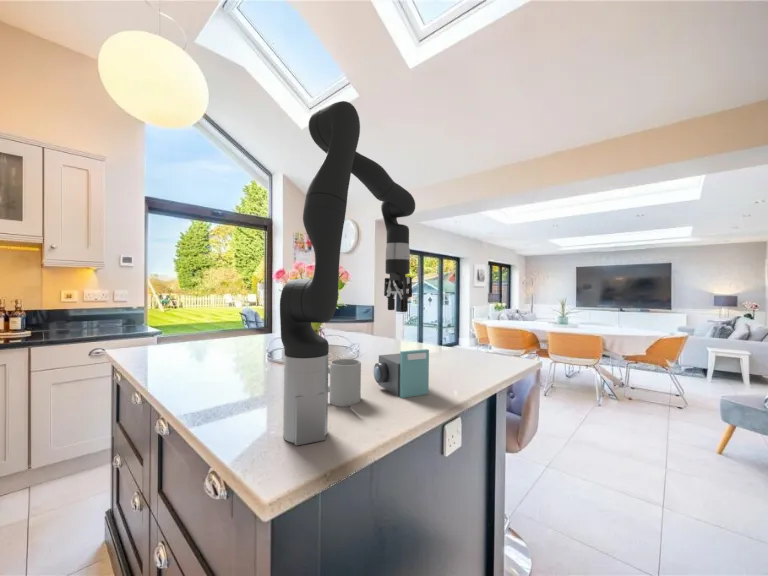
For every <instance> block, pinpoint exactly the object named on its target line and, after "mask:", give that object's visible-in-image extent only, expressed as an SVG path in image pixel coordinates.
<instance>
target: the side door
mask: <svg viewBox="0 0 768 576" xmlns="http://www.w3.org/2000/svg"><path fill="white" fill-rule="evenodd" d="M399 354H400V396H399V397H400V398H401V399H403V398H404V399H405V398H410V397H418V396H423V395H424V396H426V395H429V391H430V390H429V388H430V387H429V384H430V383H429V381H430V378H429V375H430V372H429V371H430V370H429V368H430V363H429V362H430V350H429V349H427V348H426V349H425V348H424V349H412V350H401V351H399Z"/></svg>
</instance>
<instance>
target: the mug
mask: <svg viewBox="0 0 768 576" xmlns="http://www.w3.org/2000/svg"><path fill="white" fill-rule="evenodd" d="M329 364H330V366H328V375H329V379H330V380H329V385H328V393H329V403H330V404H331V405H332V406H335V407H340V408H348V407H349V408H350V406H351V405H355V404H357V403H359V402H360V401H361V400H362V399H361V398H362V397H361V395H362V394H361V393H362V392H361V389H362V388H361V387H362V385H361V383H362V382H361V381H362V377H361V376H362V374H361V373H362V362H361V361H360V360H358V359H353V358H340V359H335V360H332V361H331V362H330V363H329Z"/></svg>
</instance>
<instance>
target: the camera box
mask: <svg viewBox="0 0 768 576" xmlns="http://www.w3.org/2000/svg"><path fill="white" fill-rule="evenodd" d="M373 377H374V380H375V382H376V383H377V384H378V386H380V387H381V388H383V389H385V390H386V391H388V392H390V393H391V394H393V395H394V396H395V397H400V353H391V354H390V353H389V354H379V355H378V362H376V363H375V364H374V366H373Z"/></svg>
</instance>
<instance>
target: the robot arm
mask: <svg viewBox="0 0 768 576" xmlns="http://www.w3.org/2000/svg"><path fill="white" fill-rule="evenodd" d="M360 124H361V122H360V116H359V113H358V111H357V109H356V107H355V106H354V105H353V104H352V103H351V102H349V101H345V100H341V101H337V102H333V103H332V104H329V105H328V106H325V107H323V108H321V109H319V110H317V111H315V112H314V113H312V114H311V115H310V117H309V118H308V131H309V135H310V136H311V139H312V141H313V142H314V144H315V145H316V146H317V147H318V148H320V149H321V151H323V152H324V153H325V154H326V156H325V158H324V159H323V161H322V163H321V165H320V166H319V168H318V170H317V171H316V172H315V174H314V176H313V178H312V179H311V181H310V183H309V186H308V188H307V191H306V193H305V199H304V206H303V211H302V212H303V213H302V222H303V227H304V229H305V232H306V234H307V236H308V239H309V241H310V243H311V245H312V248H313V251H314V259H315V260H314V261H315V262H314V271H313V277H312V278H302V279H301V278H298V279H296V278H295V279H290V280H288V281H287V282H286V283H285V284H284V286H283V288H282V290H281V294H280V298H279V319H280V321H279V323H280V338H281V339H280V340H281V343H282V346H283V349H284V354H283V355H284V357H283V359H284V360H283V361H284V362H283V425H282V427H283V429H282V430H283V431H282V433H283V434H282V435H283V437H282V438H283V439H284V440H285V441H287V442H288V443H292V444H294V446H301V445H307V444H311V443H317V442H321V441H326V437H327V435H328V428H329V427H328V425H329V424H328V423H329V422H328V421H329V419H328V417H329V413H328V410H329V404H328V403H329V399H328V398H329V392H328V386H329V373H328V367H329V354H330V353H329V351H330V348H329V341H328V340H327V339H326V338H325V337H323V336H321V335H320V334H318V333H317V332H316V331H315V330H314V329H313V326H312V323H313V324H315V323H317V324H323V323H324V324H326V323H328V322H330V321H331V319H333V317H334V315H335V313H336V310H337V305H338V301H339V300H338V299H339V286H340V285H339V282H340V281H339V278H340V276H339V275H340V259H341V258H340V257H341V250H342V249H341V247H342V238H343V231H344V227H345V226H344V225H345V221H346V220H345V219H346V212H347V204H348V194H349V187H350V182H351V174H352V175H353V176H354V177H355V178H356V179H358V180H359V181H360V182H361V184H363V185H364V187H366V188H367V190H368V191H369V192H370V193H371V194H372V195H373V197H374V198H375V199H376V200H378V201H380V202H381V207H380V208H381V214H382V218H383V221H384V226H385V231H386V244H385V245H386V247H385V274H386V275H389V277H385V278H384V285H383V286H384V291H383V295H384V297H386V299H387V310H388V311H395V309H396V306H395V305H396V303H395V302H396V298H395V297H396V295H397V294H398V296H399V312H400V313H407V312H408V308H409V307H408V303H409V302H408V301H409V299H410V298H412V297H413V277H412V276H406V275H409V274H410V273H411V272H410V269H411V267H410V264H411V259H410V258H411V251H410V250H411V249H410V228H409V226H407V224H401V223H399V222H398V219H399V218H405V217H410V216H411V215H413V213H415V211H416V200H415V199H414V197H413V195H412V194H411V193H410V192H409V191H408V190H407V189H405V188H404V187H403V186H402V185H400V184H398V183H396V181H394V180H393V179H392V177H391V176H390V175H389V173H388V172H387V170H385V168H384V167H383V166H382V165H380V164H379V163H378V162H376V161H375V160H373V159H370V158H369V157H368V156H367V157H366V156H365V155H363V154H361V153H360V152H358V151H357V147H358V144H359V139H360V134H361V125H360ZM397 218H398V219H397Z"/></svg>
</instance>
